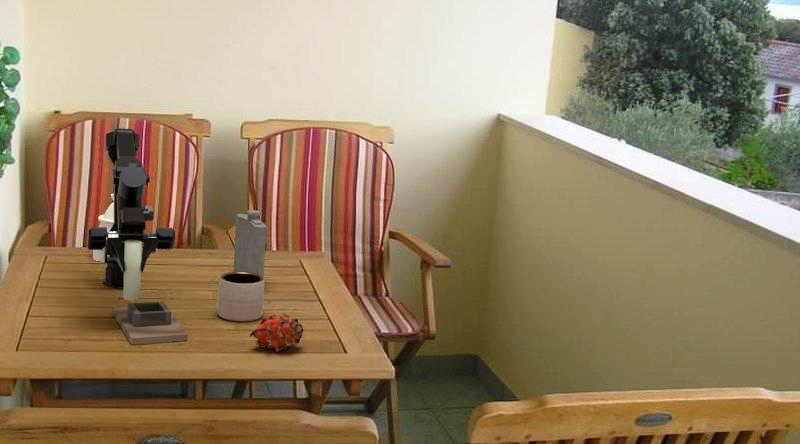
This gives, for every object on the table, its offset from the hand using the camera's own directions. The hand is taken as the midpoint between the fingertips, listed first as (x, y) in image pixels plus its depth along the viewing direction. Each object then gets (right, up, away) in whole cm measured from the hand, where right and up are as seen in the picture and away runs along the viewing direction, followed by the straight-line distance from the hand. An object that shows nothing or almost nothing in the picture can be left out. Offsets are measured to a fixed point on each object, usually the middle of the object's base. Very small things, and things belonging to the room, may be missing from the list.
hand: (133, 271), depth 209 cm
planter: (+20, -12, +19) cm, 30 cm away
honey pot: (-21, +1, +59) cm, 63 cm away
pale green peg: (-1, -6, +3) cm, 7 cm away
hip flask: (+18, -6, +46) cm, 50 cm away
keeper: (+2, -13, +6) cm, 14 cm away
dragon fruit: (+32, -17, -1) cm, 36 cm away
